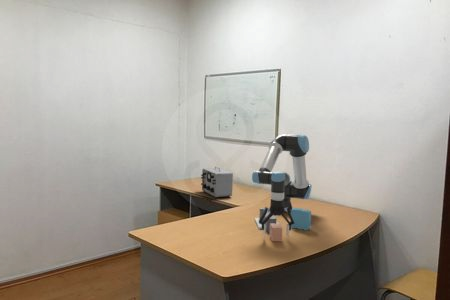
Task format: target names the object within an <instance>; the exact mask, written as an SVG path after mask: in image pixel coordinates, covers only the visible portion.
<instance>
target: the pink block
mask: <svg viewBox="0 0 450 300" xmlns="http://www.w3.org/2000/svg"><path fill="white" fill-rule="evenodd" d="M269 239H270V241H271V242H283V226H282V225H281V223H279V222H278V223H270V231H269Z"/></svg>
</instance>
